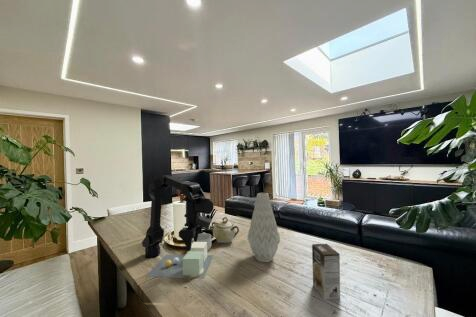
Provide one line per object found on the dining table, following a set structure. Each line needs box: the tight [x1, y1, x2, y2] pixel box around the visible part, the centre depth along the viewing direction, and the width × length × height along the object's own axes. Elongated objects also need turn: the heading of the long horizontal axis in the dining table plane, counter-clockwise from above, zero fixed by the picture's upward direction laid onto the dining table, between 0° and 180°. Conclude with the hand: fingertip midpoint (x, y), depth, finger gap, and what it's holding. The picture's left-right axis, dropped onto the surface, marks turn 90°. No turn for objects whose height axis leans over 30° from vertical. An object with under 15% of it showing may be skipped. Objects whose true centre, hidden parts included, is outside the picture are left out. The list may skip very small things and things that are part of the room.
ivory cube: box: [190, 242, 208, 262], centre depth 102 cm, size 7×7×7 cm
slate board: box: [144, 253, 215, 280], centre depth 96 cm, size 26×21×1 cm
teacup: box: [192, 232, 212, 252], centre depth 114 cm, size 14×11×8 cm
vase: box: [246, 192, 281, 263], centre depth 103 cm, size 17×17×33 cm
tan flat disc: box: [184, 268, 204, 277], centre depth 90 cm, size 9×9×1 cm
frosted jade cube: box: [183, 250, 203, 275], centre depth 90 cm, size 7×7×7 cm
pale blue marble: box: [173, 257, 179, 264], centre depth 97 cm, size 3×3×3 cm
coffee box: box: [311, 243, 341, 300], centre depth 76 cm, size 9×6×16 cm
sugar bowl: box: [211, 216, 240, 244], centre depth 125 cm, size 20×15×15 cm
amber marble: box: [165, 260, 172, 267], centre depth 95 cm, size 3×3×3 cm
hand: (192, 245), depth 91 cm, fingers open, 9 cm apart
